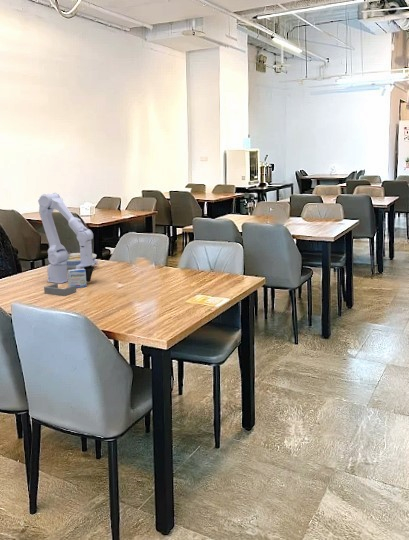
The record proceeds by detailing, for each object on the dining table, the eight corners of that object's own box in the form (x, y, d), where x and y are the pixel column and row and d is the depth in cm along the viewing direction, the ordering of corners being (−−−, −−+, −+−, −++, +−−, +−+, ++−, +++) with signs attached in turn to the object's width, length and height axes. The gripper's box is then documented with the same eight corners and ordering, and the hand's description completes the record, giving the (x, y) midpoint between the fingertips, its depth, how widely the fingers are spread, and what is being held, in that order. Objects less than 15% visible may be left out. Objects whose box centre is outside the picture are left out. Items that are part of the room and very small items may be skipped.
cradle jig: (44, 293, 243) (44, 287, 242) (56, 289, 250) (56, 283, 249) (64, 296, 238) (64, 289, 237) (76, 291, 245) (76, 285, 244)
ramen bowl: (92, 273, 283) (91, 258, 281) (49, 274, 283) (48, 259, 282) (101, 264, 307) (100, 250, 306) (62, 265, 308) (61, 251, 306)
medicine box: (70, 289, 250) (69, 271, 249) (68, 287, 254) (67, 269, 253) (86, 286, 254) (85, 269, 252) (84, 285, 258) (83, 267, 256)
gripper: (83, 257, 250) (85, 285, 253) (101, 252, 263) (103, 278, 265) (71, 256, 253) (73, 283, 256) (90, 251, 266) (92, 277, 269)
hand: (88, 281), depth 261 cm, fingers closed
